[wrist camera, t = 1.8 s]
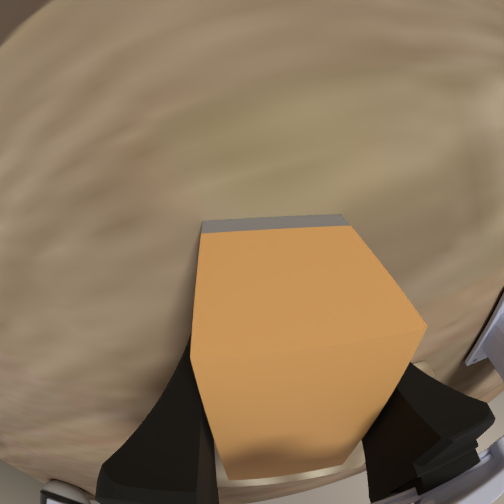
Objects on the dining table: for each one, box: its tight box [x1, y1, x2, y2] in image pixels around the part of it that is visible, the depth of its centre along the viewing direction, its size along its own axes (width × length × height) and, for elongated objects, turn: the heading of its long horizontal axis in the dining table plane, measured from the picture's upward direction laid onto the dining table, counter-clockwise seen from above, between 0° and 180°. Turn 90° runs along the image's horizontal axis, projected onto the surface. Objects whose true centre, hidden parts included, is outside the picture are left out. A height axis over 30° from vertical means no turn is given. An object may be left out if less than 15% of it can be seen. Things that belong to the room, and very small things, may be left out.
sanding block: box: [190, 214, 427, 481], centre depth 10 cm, size 5×9×6 cm, turn 1°
